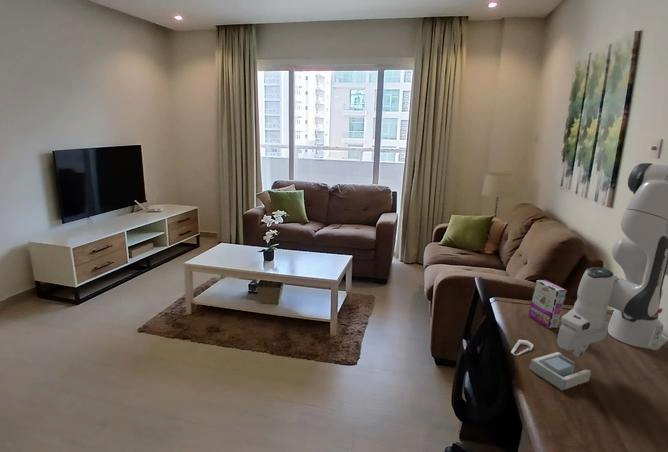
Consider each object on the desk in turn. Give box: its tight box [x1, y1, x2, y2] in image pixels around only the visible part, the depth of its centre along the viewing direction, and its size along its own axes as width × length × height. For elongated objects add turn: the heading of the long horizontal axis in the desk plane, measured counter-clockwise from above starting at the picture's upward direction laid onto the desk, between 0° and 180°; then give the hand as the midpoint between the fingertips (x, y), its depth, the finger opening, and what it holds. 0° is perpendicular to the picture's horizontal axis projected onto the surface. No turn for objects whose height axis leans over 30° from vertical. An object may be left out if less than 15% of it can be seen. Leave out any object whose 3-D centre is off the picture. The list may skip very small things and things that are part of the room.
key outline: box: [510, 339, 534, 356], centre depth 142 cm, size 13×5×2 cm, turn 141°
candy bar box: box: [528, 279, 568, 329], centre depth 162 cm, size 11×5×16 cm, turn 17°
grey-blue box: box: [543, 353, 576, 377], centre depth 127 cm, size 8×5×6 cm, turn 116°
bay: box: [529, 351, 592, 391], centre depth 128 cm, size 13×11×4 cm
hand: (578, 355), depth 132 cm, fingers closed
